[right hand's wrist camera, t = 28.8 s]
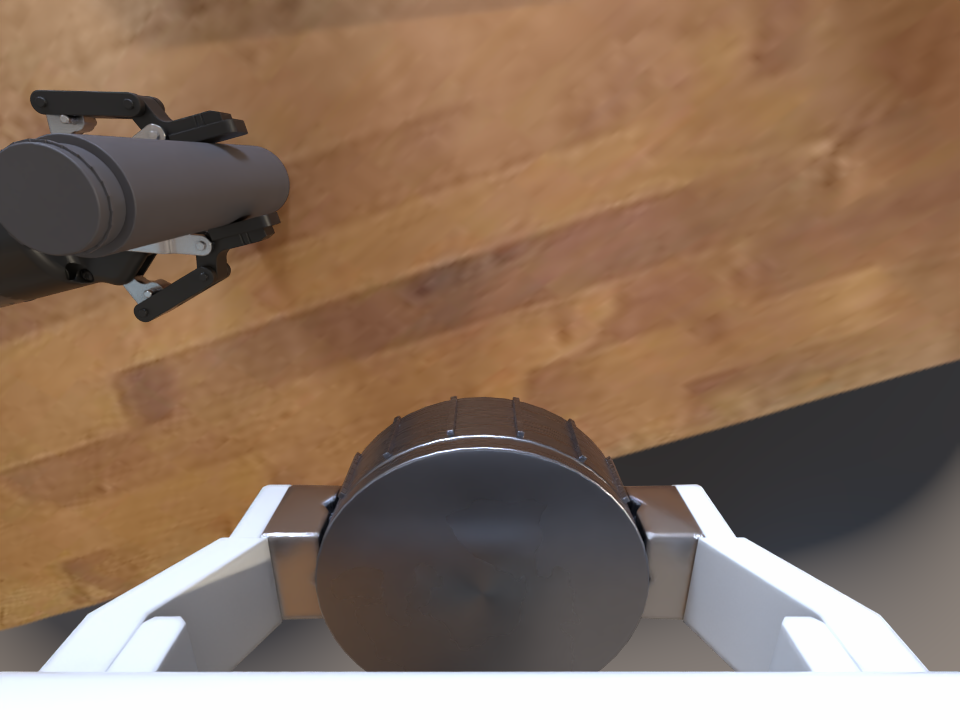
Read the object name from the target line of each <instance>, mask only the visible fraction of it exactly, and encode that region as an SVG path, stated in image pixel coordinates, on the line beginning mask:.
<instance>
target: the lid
mask: <svg viewBox="0 0 960 720" xmlns="http://www.w3.org/2000/svg"><path fill="white" fill-rule="evenodd" d="M338 497H339V500H338V503H337V505H336V508H335V510H334V512H333V513H331V515H330V522H329V525H328V527H327V529H326V532H325V534H324V537H323V539H322V543H321V546H320V549H319V552H318V556H317V564H316V571H315V576H316V592H317V597H318V602H319V607H320V610H321V612H322V615H323V617H324V620H325V623H326V625H327V626H328V628H329V630H330V632H331V634H332V635H333V637H334V639H335V640H336V641H337V643H338V644H339V645H340V646H341V648H342V649H343V650H344V652H345V653H346V654H347V655H348V656H349V657H350V658H351V659H352V660H353V661H354V662H355V663H356V664H357V665H359V666H360V667H361V668H362V669H364V670H365V671H366V672H598V671H600V670H601V669H602V668H604V667H605V666H606V665H607V664H608V663H609V662H610V661H611V660H612V659H613V658H614V657H616V656H617V654H618V653H619V652H620V651H621V650H622V648H623V647H624V646H625V645H626V644H627V642H628V641H629V639H630V638H631V636H632V634H633V633H634V631H635V630H636V628H637V626H638V624H639V621H640V619H641V617H642V614H643V612H644V608H645V604H646V600H647V597H648V588H649V565H648V558H647V554H646V550H645V546H644V542H643V540H642V538H641V535H640V533H639V531H638V528H637V526H636V523H635V520H634V518H633V516H632V514H631V512H630V509H629V507H628V505H627V502H629V501H630V500H629V498H628V495H627V493H626V491H625V488H624V486H623V484H622V482H621V479H620V477H619V475H618V472H617V470H616V468H615V465H614V463H613V461H612V459H611V457H610V456H609V457H607V458H605V456H604V455H603V453H602V452H601V450H600V449H599V448H598V447H597V446H596V445H595V444H594V442H593V441H592V440H591V439H590V438H589V437H588V436H586V435H585V434H584V433H583V432H582V431H581V430H579V429H578V428H577V427H576V425H575V422H574V421H573V420H572V419H569V420H568V421H566V420H565V419H563V418H562V417H560V416H558V415H556V414H554V413H551V412H549V411H547V410H545V409H543V408H540V407H537V406H534V405H531V404H528V403H524V402H520V401H519V398H516V397H513V400H510V399H504V398H491V397H475V398H461V399H457V396H453V397H451V400H449V401H444V402H441V403H437V404H434V405H430V406H427V407H424V408H422V409H420V410H417V411H415V412H413V413H410V414H408V415H406V416H405V417H403V418H401V417H400V416H397V417H396V418H394V421H393V424H391V425H390V426H389V427H388V428H386V429H385V430H384V431H383V432H381V433H380V434H379V435H377V437H376V438H375V439H374V440H373V441H372V442H371V443H370V444H369V445H368V446H367V447H366V448H365V449H364V451H363V452H362V454H360V453H358V452H357V453H356V455H355V456H354V459H353V461H352V464H351V466H350V468H349V471H348V473H347V475H346V478H345V480H344V483H343V485H342V487H341V490H340V492H339V494H338Z"/></svg>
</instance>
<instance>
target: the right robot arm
mask: <svg viewBox="0 0 960 720" xmlns="http://www.w3.org/2000/svg"><path fill="white" fill-rule="evenodd" d="M341 487H342V486H324V485H267V486H264V487H263V488H262V489H261V491H260V492H259V494H258V495H257V497H256V498H255V500H254V501H253V503H252V504H251V506H250V507H249V509H248V510H247V512H246V513H245V515H244V516H243V518H242V519H241V521H240V522H239V524H238V525H237V527H236V528H235V530H234V531H233V533H232V534H231V536H230V537H229V538H220V539H218V540H216V541H215V542H213V543H211V544H209V545H208V546H206V547H204V548H202V549H201V550H199V551H197V552H196V553H194V554H192V555H190V556H189V557H187V558H185V559H183V560H182V561H180V562H178V563H176V564H175V565H173V566H171V567H169V568H168V569H166V570H164V571H162V572H161V573H159V574H157V575H155V576H154V577H152V578H150V579H148V580H147V581H145V582H143V583H141V584H140V585H138V586H136V587H134V588H133V589H131V590H129V591H127V592H126V593H124V594H122V595H121V596H119V597H117V598H115V599H114V600H112V601H110V602H108V603H107V604H105V605H103V606H101V607H100V608H98V609H96V610H94V611H93V612H91V613H89V614H88V615H87V616H86V617H85V618H84V619H83V620H82V622H81V623H80V624H79V625H78V626H77V627H76V629H75V630H74V631H73V632H72V633H71V634H70V636H69V637H68V638H67V639H66V640H65V641H64V643H63V644H62V645H61V646H60V647H59V648H58V649H57V651H56V652H55V653H54V654H53V655H52V656H51V658H50V659H49V660H48V661H47V662H46V663H45V665H44V666H43V667H42V668H41V669H40V670H39V671H38V672H0V720H960V672H929V670H928V669H927V668H926V667H925V666H924V665H923V664H922V662H921V661H920V660H919V659H918V658H917V657H916V656H915V654H914V653H913V652H912V651H911V650H910V649H909V648H908V646H907V645H906V644H905V643H904V642H903V641H902V640H901V638H900V637H899V636H898V635H897V634H896V633H895V631H894V630H893V629H892V628H891V627H890V626H889V625H888V623H887V622H886V621H885V620H884V619H883V618H882V617H881V615H879V614H877V613H876V612H874V611H872V610H870V609H869V608H867V607H865V606H863V605H862V604H860V603H858V602H856V601H855V600H853V599H851V598H849V597H848V596H846V595H844V594H842V593H841V592H839V591H837V590H835V589H834V588H832V587H830V586H828V585H826V584H825V583H823V582H821V581H819V580H818V579H816V578H814V577H812V576H811V575H809V574H807V573H805V572H804V571H802V570H800V569H798V568H797V567H795V566H793V565H791V564H790V563H788V562H786V561H784V560H783V559H781V558H779V557H777V556H776V555H774V554H772V553H770V552H769V551H767V550H765V549H763V548H762V547H760V546H758V545H756V544H755V543H753V542H751V541H749V540H748V539H746V538H736V536H735V535H734V533H733V532H732V530H731V529H730V528H729V526H728V525H727V523H726V522H725V520H724V519H723V517H722V516H721V515H720V513H719V512H718V510H717V509H716V507H715V506H714V504H713V503H712V502H711V500H710V498H709V497H708V496H707V494H706V493H705V491H704V490H703V488H702V487H701V486H699V485H697V484H694V485H672V486H625V487H624V488H625V491H626V493H627V495H628V498H629V500H630V501H629V502H627V505H628V507H629V509H630V512H631V514H632V516H633V518H634V520H635V523H636V526H637V528H638V531H639V533H640V535H641V538H642V540H643V542H644V546H645V550H646V554H647V558H648V565H649V588H648V597H647V600H646V604H645V608H644V612H643V614H642V617H641V618H649V619H683V622H684V623H685V624H686V625H687V626H688V627H689V628H690V629H691V630H692V631H693V632H694V633H695V634H697V635H698V636H699V637H700V638H701V639H702V640H703V641H704V642H705V643H706V644H707V645H708V646H709V647H710V648H711V649H712V650H713V651H714V652H715V653H716V654H717V655H719V656H720V657H721V658H722V659H723V660H724V661H725V662H726V663H727V664H728V665H729V666H730V667H731V668H732V669H733V670H734V671H735V672H231V671H232V670H233V669H234V668H235V667H236V666H237V665H238V664H239V663H240V662H241V661H242V660H243V659H244V658H245V657H246V656H247V655H248V654H249V653H251V651H253V650H254V649H255V648H256V647H257V646H258V645H259V644H260V643H261V642H262V641H263V640H264V639H265V638H266V637H267V636H268V635H269V634H270V633H271V632H272V631H273V630H274V629H275V628H276V627H277V626H279V625H280V624H281V623H282V619H315V618H324V617H323V615H322V612H321V610H320V607H319V602H318V597H317V592H316V576H315V571H316V564H317V556H318V552H319V549H320V546H321V543H322V539H323V537H324V534H325V532H326V529H327V527H328V525H329V522H330V515H331V513H333V512H334V510H335V508H336V505H337V503H338V500H339V497H338V494H339V492H340V490H341Z"/></svg>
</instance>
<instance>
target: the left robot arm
mask: <svg viewBox="0 0 960 720" xmlns="http://www.w3.org/2000/svg"><path fill="white" fill-rule="evenodd" d="M30 101H31V104H32V106H33V108H34V109H35V110H36V111H37V112H39V113H41V114H45V115H46V116H47V120H48V124H49V128H50V132H51V134H53V133H67V134H83V133H86V132H90V131H92V130H93V129H94V127H95V126H96V125H97V121H96V119H95V118H108V119H133V120H134V122H135V123H136V124H137V125H138V126H139V128H140V129H141V131H139V132H138V133H137V134H136V135H135V136H133V137H132V138H142V139H157V140H172V141H187V142H203V143H217V142H221V141H224V140H228V139H231V138H235V137H239V136H242V135H246V134H248V132H247V129H246V126H245V123H244V121H243V120H237V119H232V117H231V114H227V113H222V112H216V111H206V112H203V113H200V114H196V115H192V116H189V117H185V118H181V119H178V120H174V121H173V120H171V119H170V118H169V117H168V115H167V114H166V113H165V108H164V105H163V103H162V102H161V101H160V100H159V99H157V98H155V97H150V96H140V95H137V94H134V93H129V92H98V91H55V90H36V91H34V92H33V93H32V94H31V97H30ZM278 223H281V222H280V219H279V217H278V214H277V212H274V213H270V214H266V215H262V216H259V217H255V218H251V219H247V220H243V221H239V222H235V223H232V224H228V225H224V226H221V227H217V228H213V229H209V230H205V231H201V232H197V233H193V234H190V235H186V236H182V237H178V238H174V239H170V240H166V241H162V242H158V243H154V244H150V245H147V246H143V247H139V248H135V249H131V250H127V251H123V252H119V253H115V254H111V255H107V256H104V257H97V258H86V257H79V256H68V255H65V256H56V255H49V254H45V253H41V252H39V251H36V250H34V249H32V248H29V247H28V246H26V245H22V244H20V243H19V242H18V241H16V240H15V239H14V238H13V237H11V236H10V235H9V233H8V231H7V230H6V229H5V228H4V227H3V226H2V225H1V223H0V308H1V307H5V306H9V305H13V304H17V303H21V302H27V301H32V300H34V299H37V298H40V297H44V296H48V295H52V294H56V293H60V292H64V291H67V290H71V289H75V288H79V287H83V286H87V285H91V284H95V283H99V282H105V283H110V284H114V285H123V286H124V287H125V288H126V290H127V291H128V292H129V293H130V295H131V296H132V297H133V298H134V300H135V301H136V302H137V303H138V304H137V305H136V306H135V308H134V314H135V316H136V318H137V319H139V320H140V321H142V322H149V321H151V320H153V319H155V318H157V317H159V316H161V315H163V314H165V313H167V312H169V311H171V310H173V309H175V308H176V307H178V306H180V305H181V304H183V303H185V302H187V301H188V300H190V299H192V298H193V297H195V296H197V295H198V294H200V293H202V292H203V291H205V290H207V289H208V288H210V287H212V286H213V285H215V284H217V283H218V282H220V281H222V280H224V279H225V278H227V277H228V276H229V275H230V273H231V269H230V266H229V265H228V264H227V259H226V256H227V252H228V251H229V249H231V248H235V247H239V246H243V245H247V244H251V243H255V242H259V241H262V240H264V239H267V238H269V237H270V236H272V235H273V234H274V233H275V232H274V230H273V227H272V225H275V224H278ZM171 253H177V254H188V255H196V260H197V269H195V270H194V271H192V272H190V273H189V274H187V275H185V276H184V277H182V278H180V279H179V280H177V281H175V282H174V283H172V284H171V283H169V282H167V281H165V280H163V279H158V280H155V281H150V280H147V279H146V278H144V277H143V275H144V274H145V272H146V271H147V269H148V267H149V266H150V264H151V263H152V261H153V260H154V258H155V256H156V255H157V254H171Z"/></svg>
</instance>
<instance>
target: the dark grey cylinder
mask: <svg viewBox="0 0 960 720" xmlns="http://www.w3.org/2000/svg"><path fill="white" fill-rule="evenodd" d="M288 193H289V178H288V174H287V171H286V169H285V167H284V165H283V164H282V162H281V161H280V160H279V159H278V157H276V156H275V155H274V154H273V153H272V152H270V151H268V150H267V149H264V148H262V147H258V146H248V145H233V144H218V143H203V142H187V141H172V140H157V139H142V138H127V137H112V136H97V135H82V134H67V133H53V134H47V135H44V136H41V137H38V138H36V139H25V140H21V141H17V142H13V143H12V144H10V145H9V146H7V147H6V148H4V149H3V150H1V151H0V223H1V225H2V226H3V227H4V228H5V229H6V230H7V231H8V233H9V235H10V236H11V237H13V238H14V239H15V240H16V241H18V242H19V243H20V244H22V245H26V246H28V247H29V248H32V249H34V250H36V251H39V252H41V253H45V254H49V255H56V256H65V255H68V256H79V257H86V258H97V257H104V256H107V255H111V254H115V253H119V252H123V251H127V250H131V249H135V248H139V247H143V246H147V245H150V244H154V243H158V242H162V241H166V240H170V239H174V238H178V237H182V236H186V235H190V234H193V233H197V232H201V231H205V230H209V229H213V228H217V227H221V226H224V225H228V224H232V223H235V222H239V221H243V220H247V219H251V218H255V217H259V216H262V215H266V214H270V213H273V212H275V211H277V210H278V209H280V208H281V207H282V206H283V204H284V203H285V201H286V199H287V197H288Z"/></svg>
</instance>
